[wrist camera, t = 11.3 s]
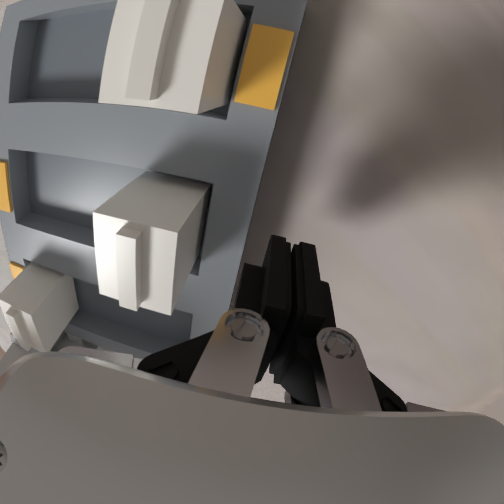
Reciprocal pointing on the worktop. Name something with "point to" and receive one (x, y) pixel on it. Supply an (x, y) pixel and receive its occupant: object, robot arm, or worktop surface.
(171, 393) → the robot arm
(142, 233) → the tab
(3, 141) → the switch bank
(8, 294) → the tab
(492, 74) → the worktop surface
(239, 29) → the tab
